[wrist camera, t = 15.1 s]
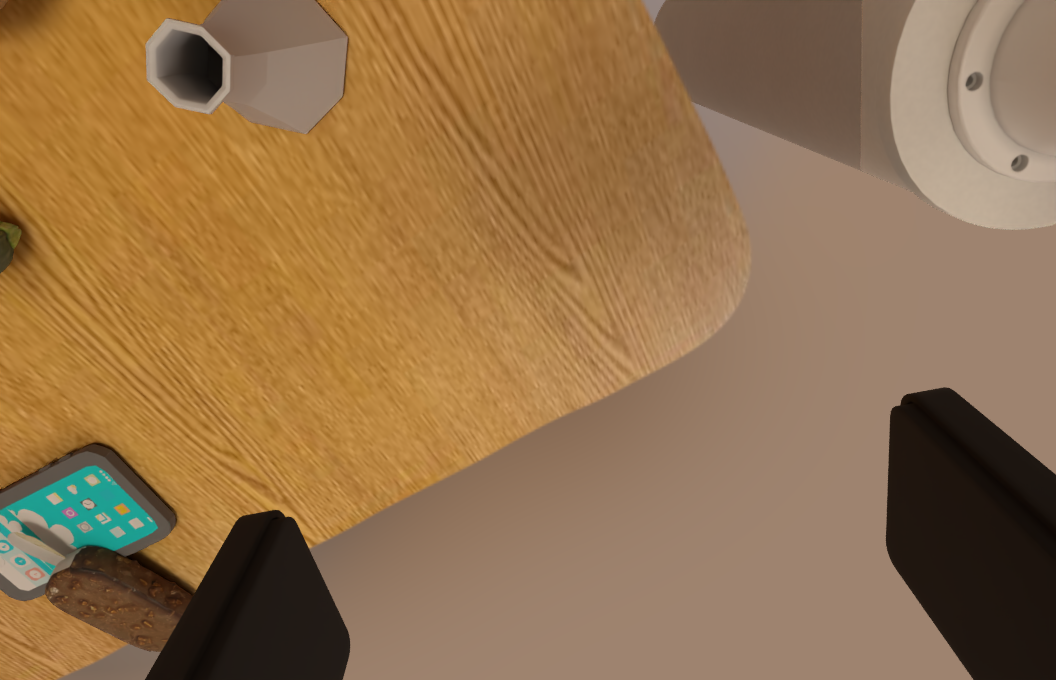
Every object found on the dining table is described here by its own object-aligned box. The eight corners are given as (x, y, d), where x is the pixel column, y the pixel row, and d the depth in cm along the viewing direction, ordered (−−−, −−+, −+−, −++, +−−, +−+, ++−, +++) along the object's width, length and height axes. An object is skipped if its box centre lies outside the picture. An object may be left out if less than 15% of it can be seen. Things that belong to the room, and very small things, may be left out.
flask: (186, 84, 34) (63, 104, 24) (234, -56, 31) (116, -92, 22) (317, 157, 35) (247, 200, 26) (373, 30, 33) (317, 29, 24)
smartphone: (-76, 530, 44) (89, 445, 42) (-64, 520, 45) (98, 436, 42) (20, 609, 48) (179, 535, 45) (29, 598, 49) (186, 525, 46)
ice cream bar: (30, 516, 42) (225, 623, 48) (45, 492, 46) (224, 594, 52) (-37, 585, 41) (172, 685, 47) (-15, 554, 45) (175, 650, 51)
